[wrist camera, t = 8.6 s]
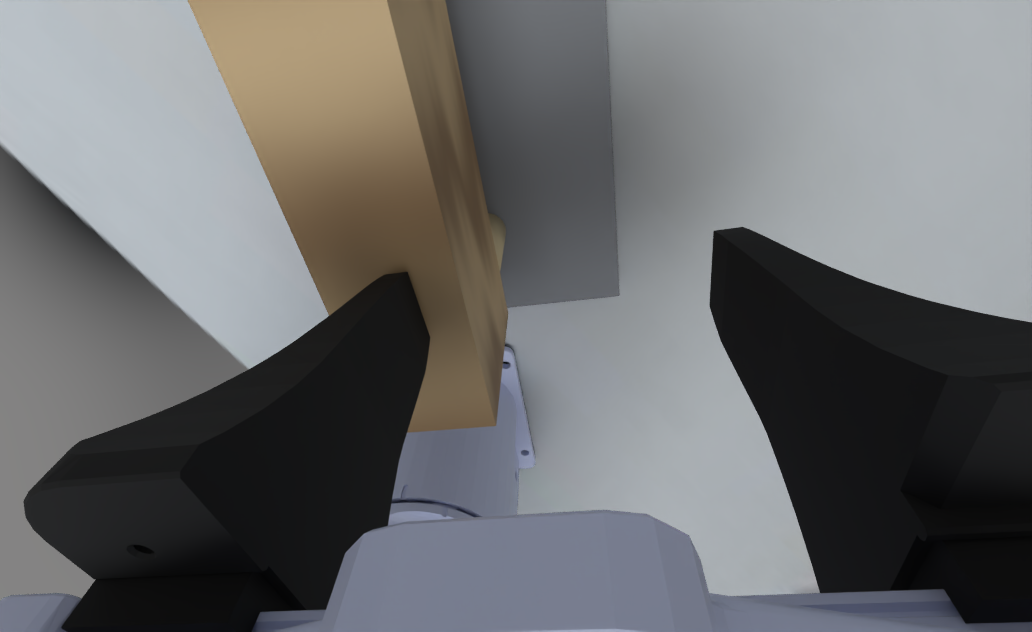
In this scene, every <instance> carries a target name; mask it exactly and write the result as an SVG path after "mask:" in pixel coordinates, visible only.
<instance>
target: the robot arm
mask: <svg viewBox="0 0 1032 632" xmlns="http://www.w3.org/2000/svg"><path fill="white" fill-rule="evenodd" d="M710 309H711V312H712V315H713V318H714V322H715V325H716V328H717V331H718V334H719V337H720V340H721V342H722V344H723V346H724V348H725V350H726V352H727V354H728V356H729V358H730V360H731V362H732V364H733V366H734V368H735V370H736V372H737V374H738V376H739V378H740V380H741V382H742V384H743V386H744V388H745V389H746V391H747V393H748V395H749V397H750V399H751V401H752V403H753V405H754V407H755V409H756V411H757V413H758V415H759V417H760V419H761V421H762V424H763V426H764V428H765V430H766V432H767V435H768V438H769V440H770V443H771V446H772V448H773V451H774V454H775V456H776V459H777V462H778V465H779V467H780V470H781V473H782V476H783V478H784V481H785V484H786V487H787V490H788V493H789V496H790V499H791V502H792V505H793V507H794V510H795V513H796V516H797V519H798V523H799V526H800V529H801V532H802V535H803V538H804V541H805V544H806V548H807V551H808V554H809V557H810V560H811V563H812V566H813V570H814V573H815V577H816V580H817V584H818V587H819V590H820V593H812V594H782V595H752V596H726V595H719V594H712V593H709V591H708V587H707V584H706V580H705V576H704V572H703V568H702V564H701V560H700V558H699V556H698V554H697V552H696V549H695V547H694V545H693V543H692V541H691V539H690V537H689V535H687V534H685V533H683V532H682V531H680V530H678V529H676V528H674V527H672V526H670V525H668V524H666V523H664V522H662V521H660V520H658V519H656V518H654V517H652V516H650V515H648V514H642V513H631V512H621V511H610V510H592V511H575V512H558V513H541V514H524V515H517V506H518V486H519V469H525V468H532V467H533V466H534V465H535V454H534V449H533V444H532V439H531V434H530V429H529V424H528V420H527V415H526V410H525V405H524V400H523V395H522V390H521V385H520V380H519V376H518V371H517V366H516V361H515V356H514V352H513V350H512V349H511V348H509V347H506V346H505V348H504V357H503V362H504V361H506V362H509V364H504V363H503V367H502V376H501V386H500V395H499V405H498V414H497V423H496V426H491V427H478V428H464V429H451V430H437V431H424V432H410V433H407V431H408V428H409V425H410V422H411V418H412V415H413V412H414V409H415V405H416V402H417V399H418V396H419V392H420V389H421V386H422V382H423V379H424V375H425V372H426V366H427V360H428V353H429V345H430V335H429V332H428V329H427V326H426V323H425V320H424V318H423V315H422V312H421V309H420V306H419V303H418V300H417V297H416V294H415V292H414V289H413V286H412V283H411V280H410V277H409V274H408V272H401V273H393V274H386V275H383V276H381V277H379V278H378V279H376V280H375V281H373V282H372V283H371V284H369V285H368V286H367V287H365V288H364V289H363V290H361V291H360V292H359V293H358V294H356V295H355V296H354V297H353V298H351V299H350V300H349V301H347V302H346V303H345V304H344V305H342V306H341V307H340V308H339V309H337V310H336V311H335V312H334V313H332V314H331V315H330V316H328V317H327V318H326V319H324V320H323V321H322V322H320V323H319V324H318V325H316V326H315V327H314V328H312V329H311V330H309V331H308V332H307V333H305V334H304V335H303V336H301V337H300V338H299V339H297V340H296V341H294V342H293V343H291V344H290V345H288V346H287V347H285V348H284V349H282V350H281V351H279V352H278V353H276V354H274V355H273V356H271V357H269V358H268V359H266V360H264V361H263V362H261V363H259V364H258V365H256V366H254V367H253V368H251V369H249V370H247V371H245V372H243V373H241V374H239V375H238V376H236V377H234V378H232V379H230V380H228V381H226V382H224V383H222V384H220V385H218V386H217V387H214V388H212V389H211V390H208V391H207V392H204V393H202V394H200V395H198V396H196V397H193V398H191V399H189V400H187V401H185V402H182V403H180V404H178V405H175V406H173V407H171V408H168V409H166V410H163V411H161V412H159V413H156V414H153V415H151V416H149V417H146V418H143V419H141V420H138V421H135V422H133V423H130V424H127V425H124V426H121V427H119V428H116V429H113V430H110V431H108V432H105V433H102V434H99V435H96V436H94V437H91V438H88V439H85V440H82V441H80V442H78V443H77V444H76V445H74V447H72V448H71V449H70V450H69V451H68V452H67V453H66V454H65V455H64V456H63V457H62V458H61V459H60V460H59V461H58V462H57V463H56V464H55V465H54V466H53V467H52V468H51V469H50V470H49V471H48V472H47V473H46V474H45V475H44V477H42V478H41V480H40V481H38V483H37V484H36V485H35V486H34V487H33V488H32V489H31V490H30V491H29V492H28V494H27V496H26V497H25V499H24V508H25V515H26V518H27V520H28V522H29V523H30V525H31V526H32V528H33V529H34V531H36V533H38V534H39V535H40V536H41V537H42V538H43V539H44V540H45V541H46V542H47V543H49V544H50V545H51V546H52V547H54V548H55V549H56V550H58V551H59V552H60V553H61V554H63V555H64V556H65V557H66V558H68V559H69V560H70V561H72V562H73V563H74V564H75V565H77V566H78V567H79V568H81V569H82V570H83V571H84V572H86V573H87V574H88V575H90V576H91V577H92V578H93V579H96V580H95V582H94V583H93V584H92V586H91V587H90V589H89V590H88V591H87V592H86V594H85V595H84V596H83V598H82V599H81V598H79V597H76V596H73V595H70V594H62V593H52V594H51V593H50V594H26V595H10V596H8V597H4V598H3V599H2V600H1V601H0V632H1032V322H1026V321H1020V320H1014V319H1008V318H1003V317H998V316H993V315H988V314H983V313H978V312H974V311H969V310H965V309H961V308H957V307H953V306H948V305H944V304H940V303H936V302H932V301H928V300H925V299H921V298H917V297H914V296H910V295H907V294H904V293H901V292H897V291H894V290H891V289H888V288H885V287H882V286H879V285H875V284H873V283H870V282H867V281H864V280H861V279H859V278H856V277H854V276H851V275H849V274H846V273H844V272H841V271H839V270H836V269H834V268H831V267H829V266H827V265H824V264H822V263H820V262H817V261H815V260H813V259H811V258H809V257H806V256H804V255H802V254H800V253H798V252H796V251H794V250H792V249H790V248H787V247H785V246H783V245H781V244H779V243H777V242H775V241H773V240H771V239H769V238H767V237H765V236H763V235H761V234H758V233H756V232H754V231H752V230H749V229H747V228H744V227H739V228H731V229H724V230H716V231H714V235H713V253H712V272H711V290H710ZM525 450H526V451H525Z"/></svg>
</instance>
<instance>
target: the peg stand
mask: <svg viewBox="0 0 1032 632" xmlns="http://www.w3.org/2000/svg"><path fill="white" fill-rule="evenodd" d="M445 1H446V6H447V11H448V16H449V21H450V26H451V31H452V36H453V41H454V46H455V51H456V56H457V61H458V66H459V71H460V76H461V81H462V86H463V91H464V96H465V101H466V106H467V111H468V116H469V121H470V126H471V131H472V136H473V141H474V146H475V151H476V156H477V161H478V166H479V171H480V176H481V181H482V186H483V191H484V196H485V201H486V205H487V210H488V215H489V220H490V225H491V230H492V235H493V240H494V245H495V250H496V255H497V260H498V265H499V270H500V275H501V280H502V285H503V290H504V295H505V300H506V305H507V308H508V307H517V306H527V305H537V304H546V303H556V302H565V301H575V300H584V299H594V298H603V297H613V296H619V276H618V254H617V233H616V211H615V190H614V169H613V147H612V126H611V104H610V83H609V62H608V40H607V19H606V0H445Z"/></svg>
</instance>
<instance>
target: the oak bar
mask: <svg viewBox="0 0 1032 632" xmlns="http://www.w3.org/2000/svg"><path fill="white" fill-rule="evenodd" d="M188 2H189V4H190V7H191V9H192V11H193V13H194V16H195V18H196V20H197V22H198V24H199V27H200V29H201V31H202V33H203V36H204V38H205V40H206V42H207V45H208V47H209V49H210V51H211V53H212V56H213V58H214V60H215V62H216V65H217V67H218V69H219V71H220V73H221V76H222V78H223V80H224V82H225V85H226V87H227V89H228V91H229V94H230V96H231V98H232V100H233V102H234V105H235V107H236V109H237V111H238V114H239V116H240V118H241V120H242V122H243V125H244V127H245V129H246V131H247V134H248V136H249V138H250V140H251V143H252V145H253V147H254V149H255V151H256V154H257V156H258V158H259V160H260V163H261V165H262V167H263V169H264V172H265V174H266V176H267V178H268V180H269V183H270V185H271V187H272V189H273V192H274V194H275V196H276V198H277V200H278V203H279V205H280V207H281V209H282V212H283V214H284V216H285V218H286V221H287V223H288V225H289V227H290V229H291V232H292V234H293V236H294V238H295V241H296V243H297V245H298V247H299V250H300V252H301V254H302V256H303V258H304V261H305V263H306V265H307V267H308V270H309V272H310V274H311V276H312V278H313V281H314V283H315V285H316V287H317V290H318V292H319V294H320V296H321V299H322V301H323V303H324V305H325V307H326V310H327V312H328V314H329V316H330V315H331V314H332V313H334V312H335V311H336V310H337V309H339V308H340V307H341V306H342V305H344V304H345V303H346V302H347V301H349V300H350V299H351V298H353V297H354V296H355V295H356V294H358V293H359V292H360V291H361V290H363V289H364V288H365V287H367V286H368V285H369V284H371V283H372V282H373V281H375V280H376V279H378V278H379V277H381V276H383V275H386V274H393V273H401V272H408V274H409V277H410V280H411V283H412V286H413V289H414V292H415V294H416V297H417V300H418V303H419V306H420V309H421V312H422V315H423V318H424V320H425V323H426V326H427V329H428V332H429V335H430V345H429V353H428V360H427V366H426V372H425V375H424V379H423V382H422V386H421V389H420V392H419V396H418V399H417V402H416V405H415V409H414V412H413V415H412V418H411V422H410V425H409V428H408V431H407V433H410V432H424V431H437V430H451V429H464V428H478V427H491V426H496V423H497V414H498V405H499V395H500V386H501V376H502V367H503V357H504V348H505V338H506V329H507V319H508V310H507V305H506V300H505V295H504V290H503V285H502V280H501V275H500V270H499V265H498V260H497V255H496V250H495V245H494V240H493V235H492V230H491V225H490V220H489V215H488V210H487V205H486V201H485V196H484V191H483V186H482V181H481V176H480V171H479V166H478V161H477V156H476V151H475V146H474V141H473V136H472V131H471V126H470V121H469V116H468V111H467V106H466V101H465V96H464V91H463V86H462V81H461V76H460V71H459V66H458V61H457V56H456V51H455V46H454V41H453V36H452V31H451V26H450V21H449V16H448V11H447V6H446V1H445V0H188Z"/></svg>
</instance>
